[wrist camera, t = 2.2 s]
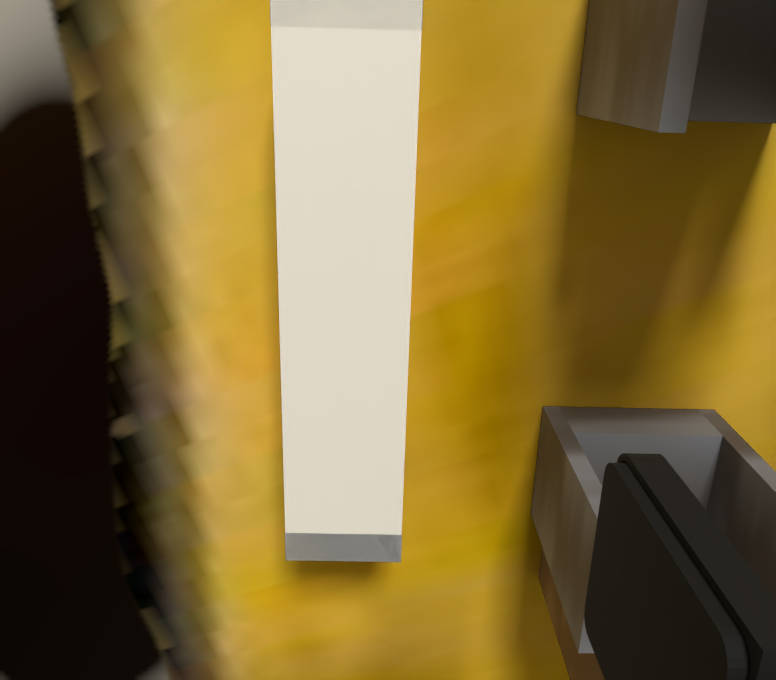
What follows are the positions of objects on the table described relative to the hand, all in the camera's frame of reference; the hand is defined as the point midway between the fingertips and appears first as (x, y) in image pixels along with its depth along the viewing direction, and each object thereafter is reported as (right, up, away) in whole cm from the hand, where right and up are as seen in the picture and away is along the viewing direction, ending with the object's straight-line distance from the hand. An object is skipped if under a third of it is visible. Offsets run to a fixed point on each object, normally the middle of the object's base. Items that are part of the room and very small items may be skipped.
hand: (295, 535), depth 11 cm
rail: (0, +5, +13) cm, 14 cm away
